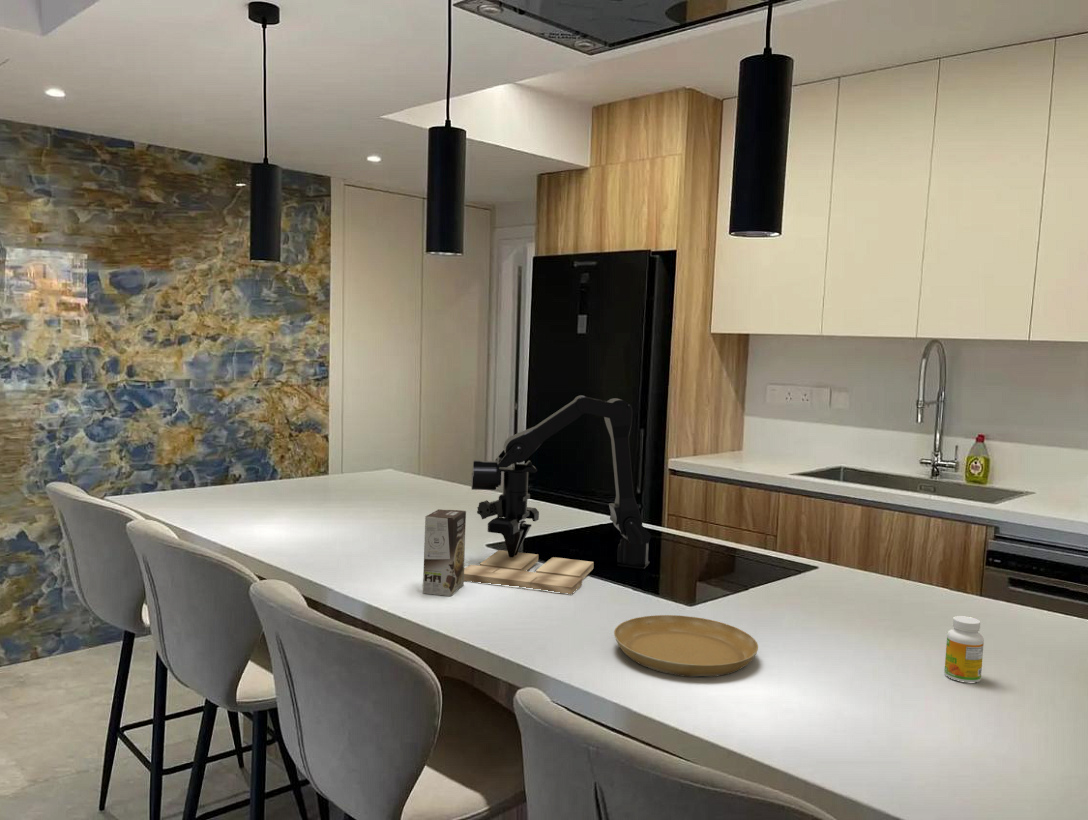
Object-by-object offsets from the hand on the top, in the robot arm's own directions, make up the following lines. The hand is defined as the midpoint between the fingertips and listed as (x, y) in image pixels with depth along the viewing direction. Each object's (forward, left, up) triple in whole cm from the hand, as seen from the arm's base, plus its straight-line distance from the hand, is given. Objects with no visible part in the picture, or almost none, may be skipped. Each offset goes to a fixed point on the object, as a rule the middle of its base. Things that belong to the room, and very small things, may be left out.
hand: (512, 556), depth 203 cm
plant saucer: (-47, +43, -3) cm, 64 cm away
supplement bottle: (-91, +35, -2) cm, 98 cm away
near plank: (-14, +2, -2) cm, 14 cm away
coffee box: (+6, +25, -2) cm, 26 cm away
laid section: (-7, +14, -2) cm, 16 cm away
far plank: (0, +2, -2) cm, 3 cm away
